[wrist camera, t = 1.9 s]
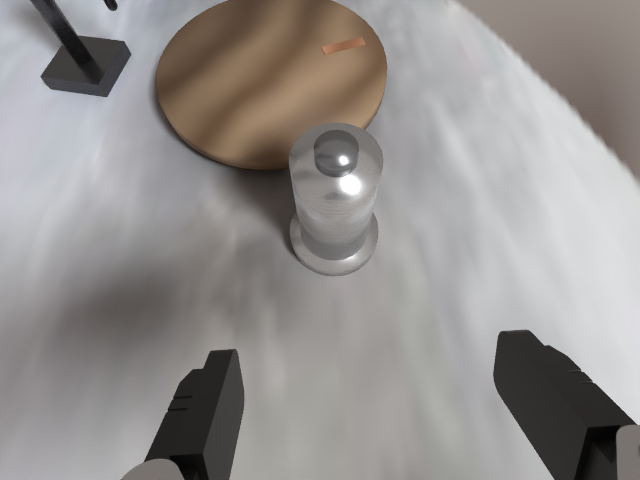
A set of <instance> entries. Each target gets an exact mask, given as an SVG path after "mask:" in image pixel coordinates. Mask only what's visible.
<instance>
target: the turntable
mask: <svg viewBox="0 0 640 480" xmlns="http://www.w3.org/2000/svg"><path fill="white" fill-rule="evenodd" d="M386 77H387V61H386V55H385V52H384V48H383V46H382V44H381V42H380V40H379V37H378V36H377V35H376V33H375V32H374V30H373V29H372V28H371V27H370V26H369V25H368V23H367V22H366V21H365V20H364V19H362V18H361V17H360V16H359V15H357V14H356V13H355V12H353V11H351V10H350V9H348V8H346V7H345V6H343V5H341V4H338V3H336V2H334V1H331V0H228V1H225V2H223V3H220V4H218V5H215V6H213V7H211V8H209V9H207V10H206V11H204V12H202V13H201V14H199V15H197V16H196V17H194V18H193V19H192V20H190V21H189V22H188V23H186V24H185V25H184V26H183V27H182V28H181V29H180V30H179V31H178V32H177V33H176V34H175V36H174V37H173V38H172V39H171V40H170V42H169V43H168V45H167V47H166V48H165V50H164V52H163V54H162V56H161V59H160V61H159V65H158V69H157V74H156V88H157V95H158V98H159V102H160V105H161V107H162V109H163V111H164V113H165V114H166V116H167V118H168V120H169V122H170V123H171V125H172V127H173V128H174V130H175V131H176V132H177V134H178V135H179V136H180V137H181V138H182V139H183V140H184V141H185V142H186V143H187V144H188V145H189V146H190V147H192V148H193V149H195V150H196V151H198V152H199V153H201V154H203V155H205V156H207V157H209V158H211V159H213V160H215V161H218V162H221V163H224V164H227V165H230V166H235V167H240V168H246V169H256V170H277V169H285V168H289V155H290V151H291V149H292V146H293V145H294V143H295V141H296V140H297V139H298V138H299V137H300V136H301V135H302V134H303V133H304V132H306V131H307V130H309V129H311V128H313V127H315V126H318V125H321V124H325V123H334V122H339V123H347V124H351V125H354V126H357V127H359V128H361V129H363V130H365V129H366V128H367V127H368V125H369V124H370V123H371V121H372V120H373V118H374V117H375V115H376V113H377V111H378V109H379V107H380V105H381V102H382V98H383V94H384V89H385V84H386Z"/></svg>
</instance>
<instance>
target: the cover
mask: <svg viewBox="0 0 640 480" xmlns="http://www.w3.org/2000/svg"><path fill="white" fill-rule="evenodd" d="M289 168H290V174H291V180H292V186H293V192H294V198H295V204H296V211H295V213H294V215H293V217H292V220H291V223H290V238H291V243H292V247H293V250H294V252H295V254H296V256H297V258H298V259H299V260H300V261H301V263H302V264H303V265H305V266H306V267H307V268H309V269H310V270H312V271H314V272H316V273H319V274H322V275H326V276H342V275H346V274H350V273H352V272H354V271H356V270H358V269H359V268H361V267H362V266H363V265H364V264H365V263H366V262H367V261H368V260H369V259H370V257H371V256H372V254H373V252H374V249H375V246H376V243H377V238H378V224H377V220H376V217H375V215H374V213H373V208H374V204H375V199H376V195H377V190H378V186H379V182H380V177H381V173H382V168H383V154H382V151H381V148H380V146H379V144H378V143H377V141H376V140H375V139H374V138H373V137H372V136H371V135H370V134H369V133H368V132H366V131H365V130H363V129H361V128H359V127H357V126H354V125H351V124H347V123H339V122H334V123H325V124H321V125H318V126H315V127H313V128H311V129H309V130H307V131H306V132H304V133H303V134H302V135H301V136H300V137H299V138H298V139H297V140H296V141H295V143H294V145H293V146H292V149H291V151H290V155H289Z"/></svg>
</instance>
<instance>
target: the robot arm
mask: <svg viewBox="0 0 640 480" xmlns="http://www.w3.org/2000/svg"><path fill="white" fill-rule="evenodd" d="M493 376H494V383H495V386H496V389H497V391H498V393H499V395H500V397H501V398H502V400H503V401H504V403H505V404H506V406H507V407H508V409H509V410H510V412H511V413H512V415H513V417H514V418H515V420H516V421H517V423H518V424H519V426H520V427H521V429H522V430H523V432H524V433H525V435H526V437H527V438H528V440H529V441H530V443H531V444H532V446H533V447H534V449H535V450H536V452H537V453H538V455H539V457H540V458H541V460H542V461H543V463H544V464H545V466H546V467H547V469H548V470H549V472H550V473H551V475H552V476H553V478H554V480H640V425H637V424H636V423H635V422H634V421H633V420H632V419H631V418H630V417H629V416H628V415H627V414H626V413H625V412H624V411H623V410H622V409H621V408H620V407H619V406H618V405H617V404H616V403H615V402H614V401H613V400H612V399H611V398H610V397H609V396H608V395H607V394H606V393H605V392H604V391H602V390H601V389H600V388H599V387H598V386H597V385H596V384H595V383H593V382H592V380H591V379H590V378H589V377H588V376H587V375H586V374H585V373H584V372H581V369H580V368H579V367H578V366H577V365H576V364H575V363H574V362H573V361H572V360H571V359H570V358H569V357H568V356H566V355H565V354H563V353H561V352H560V351H558V350H556V349H555V348H553V347H551V346H549V345H548V346H544V345H543V344H542V343H541V342H540V341H539V340H538V339H537V338H536V336H535V335H534V334H533V333H532V332H531V331H529V330H513V331H502V332H500V333H499V336H498V341H497V348H496V356H495V364H494V372H493ZM243 410H244V387H243V381H242V375H241V369H240V363H239V357H238V353H237V350H236V349H229V350H215V351H210V353H209V355H208V358H207V360H206V363H205V365H204V368H203V369H193V370H192V371H191V372H190V373H189V374H188V375H187V376H186V377H185V378H184V379H183V380H182V381H181V382H180V384H179V386H178V388H177V390H176V392H175V395H174V397H173V400H172V401H171V403H170V406H169V408H168V412H167V413H166V414H165V417H164V419H163V421H162V423H161V425H160V428H159V430H158V432H157V434H156V436H155V439H154V441H153V443H152V445H151V448H150V450H149V452H148V454H147V456H146V459H145V461H144V462H143V463H142V464H140V465H138V466H136V467H135V468H133V469H132V470H130V471H129V472H128V473H127V474H126V475H125V476H124V477H123V478H122V479H121V480H229V478H230V473H231V468H232V463H233V458H234V454H235V449H236V444H237V439H238V434H239V430H240V425H241V420H242V415H243Z"/></svg>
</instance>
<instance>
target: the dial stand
mask: <svg viewBox="0 0 640 480" xmlns="http://www.w3.org/2000/svg"><path fill="white" fill-rule="evenodd" d="M30 1H31V2H32V4H33V5H34V6H35V8H36V9H37V10H38V12H39V13H40V15H41V16H42V17H43V19H44V20H45V21H46V23H47V24H48V25H49V27H50V28H51V30H52V31H53V32H54V34H55V35H56V36H57V38H58V39H59V40H60V42H61V43H62V46H61V47H60V49H59V50H58V52H57V53H56V55H55V56H54V58H53V59H52V61H51V62H50V63H49V65H48V66H47V68H46V69H45V71H44V72H43V74H42V75H41V76H40V77H41V78H42V79H43V80H44V82H45V83H46V84H47V85H48V86H49V87H50V88H51V89H54V90H61V91H68V92H75V93H82V94H89V95H96V96H103V97H107V96H108V94H109V92H110V91H111V89H112V87H113V85H114V84H115V82H116V80H117V78H118V77H119V75H120V73H121V71H122V70H123V68H124V66H125V64H126V63H127V61H128V59H129V57H130V56H131V53H130V51H129V49H128V47H127V46H126V44H125V42H124V41H118V40H110V39H102V38H94V37H86V36H78V35H77V34H76V32H75V31H74V29H73V28H72V26H71V25H70V23H69V22H68V20H67V19H66V17H65V16H64V14H63V13H62V11H61V10H60V8H59V7H58V5H57V4H56V3H55V1H54V0H30ZM104 2H105V4H106V6H107V7H108V8H109V9H110V10H112V11H115V10H117V7H118V6H117V3H116V1H115V0H104Z"/></svg>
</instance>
